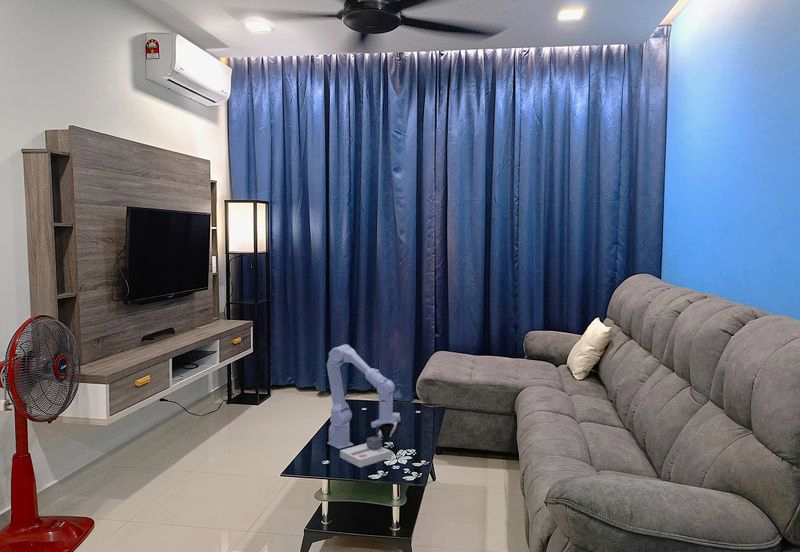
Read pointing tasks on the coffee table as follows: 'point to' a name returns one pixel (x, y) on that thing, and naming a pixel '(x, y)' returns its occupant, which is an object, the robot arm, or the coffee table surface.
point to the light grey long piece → (393, 427)
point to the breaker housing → (364, 455)
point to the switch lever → (374, 442)
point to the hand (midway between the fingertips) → (385, 440)
